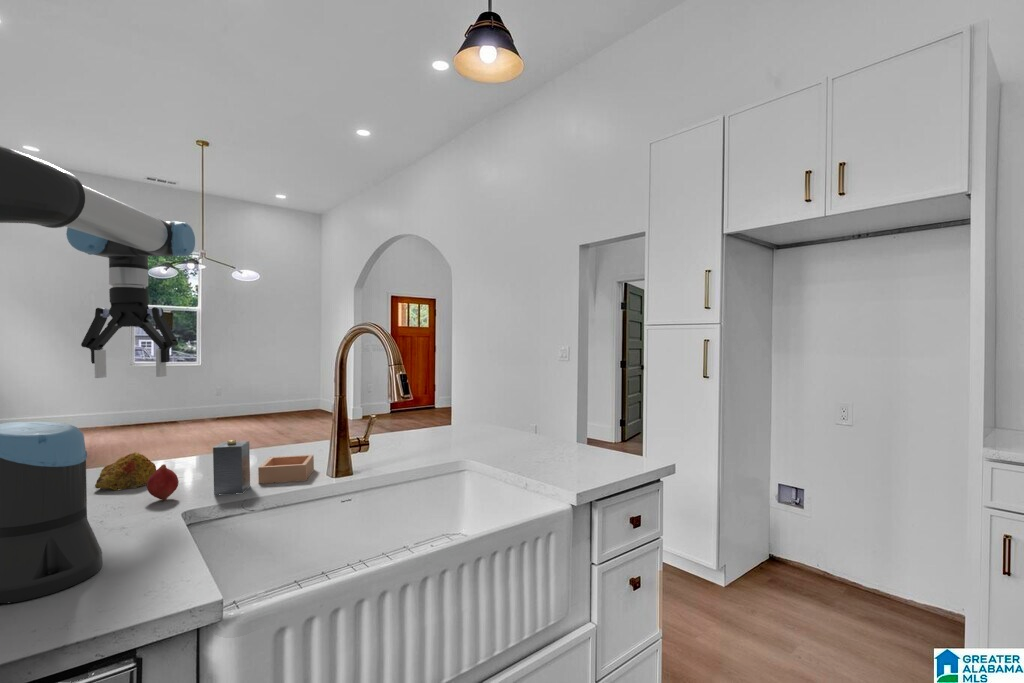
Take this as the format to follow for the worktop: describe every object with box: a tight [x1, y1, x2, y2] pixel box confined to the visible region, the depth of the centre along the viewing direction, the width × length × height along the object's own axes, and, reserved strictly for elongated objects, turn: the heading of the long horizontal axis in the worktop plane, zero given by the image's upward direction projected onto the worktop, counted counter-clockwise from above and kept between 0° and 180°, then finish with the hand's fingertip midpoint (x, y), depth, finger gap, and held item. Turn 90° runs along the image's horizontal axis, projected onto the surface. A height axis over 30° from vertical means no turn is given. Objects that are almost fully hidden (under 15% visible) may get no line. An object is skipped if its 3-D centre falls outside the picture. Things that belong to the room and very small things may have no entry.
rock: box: [94, 452, 157, 491], centre depth 127 cm, size 11×8×10 cm
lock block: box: [212, 439, 251, 496], centre depth 121 cm, size 6×6×12 cm
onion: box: [146, 463, 180, 501], centre depth 115 cm, size 6×6×8 cm
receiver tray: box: [257, 454, 315, 484], centre depth 133 cm, size 11×11×4 cm
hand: (131, 377), depth 122 cm, fingers open, 13 cm apart
